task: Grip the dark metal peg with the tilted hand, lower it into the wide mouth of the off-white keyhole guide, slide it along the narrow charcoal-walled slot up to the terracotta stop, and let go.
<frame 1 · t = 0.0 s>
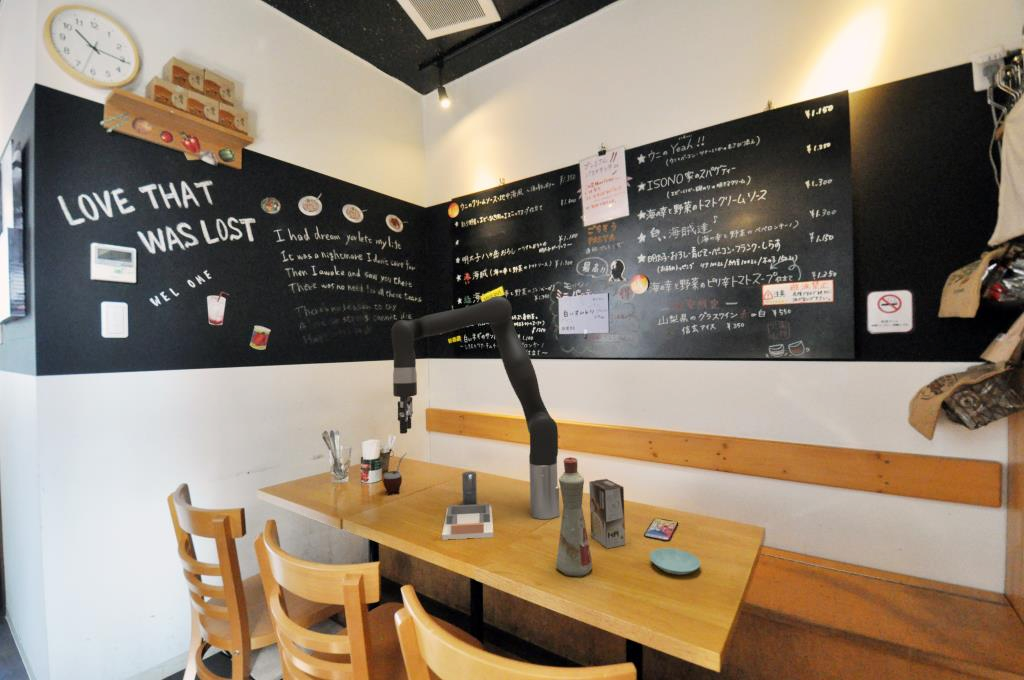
hand: (405, 431, 144), 29 cm above the table, tool pointing down, fingers open, 8 cm apart
bottle: (574, 569, 110), on the table
smartphone: (661, 532, 132), on the table
keyhole guide: (468, 524, 140), on the table
saucer: (674, 568, 110), on the table
coffee box: (607, 541, 126), on the table
metal peg: (469, 504, 158), on the table
mate gourd: (393, 493, 173), on the table
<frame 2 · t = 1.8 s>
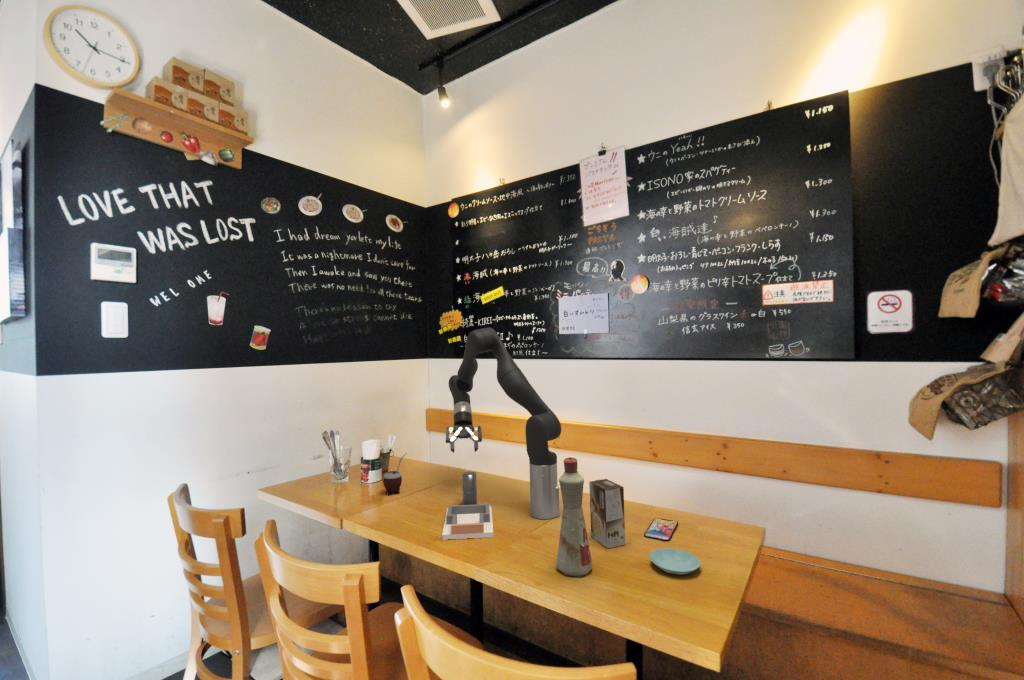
hand: (464, 451, 170), 17 cm above the table, tool tilted 40°, fingers open, 8 cm apart
nothing on the table moved.
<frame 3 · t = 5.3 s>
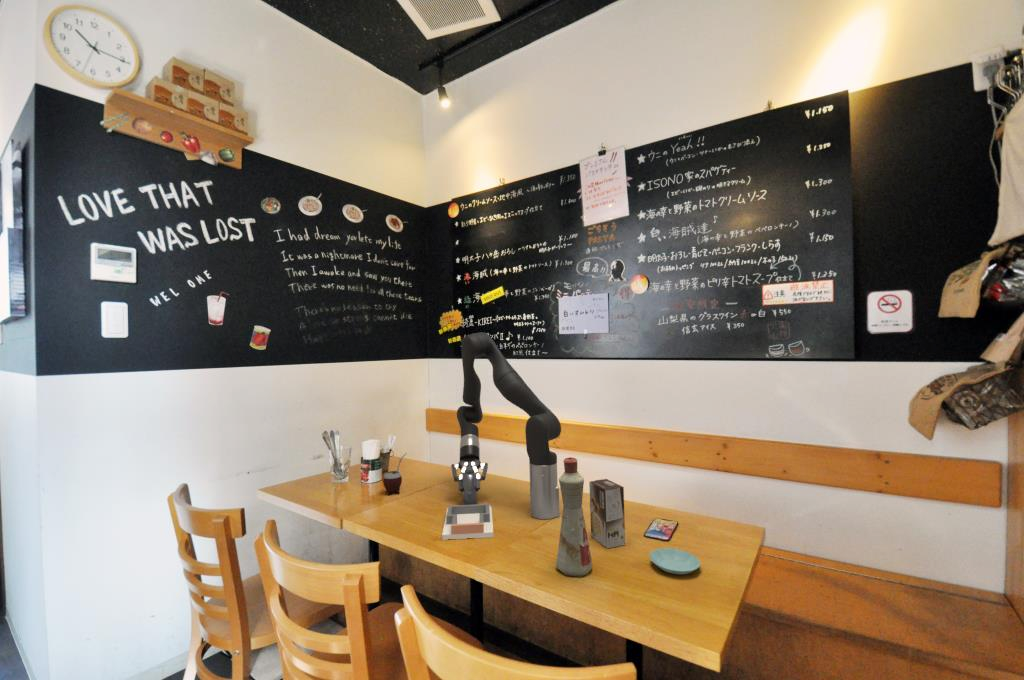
hand: (469, 490, 157), 5 cm above the table, tool tilted 45°, fingers closed on metal peg, 5 cm apart
metal peg: (469, 504, 158), on the table, touching gripper
everything else where it was.
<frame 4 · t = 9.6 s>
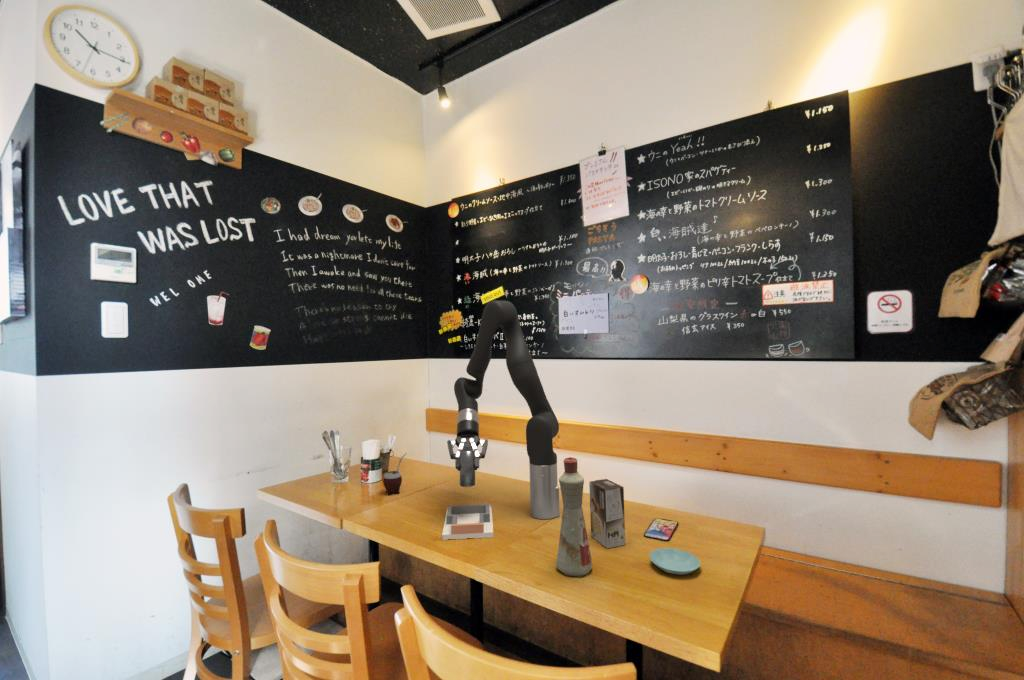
hand: (467, 469, 141), 17 cm above the table, tool tilted 45°, fingers closed on metal peg, 5 cm apart
metal peg: (467, 484, 142), point 12 cm above the table, touching gripper
everything else where it was.
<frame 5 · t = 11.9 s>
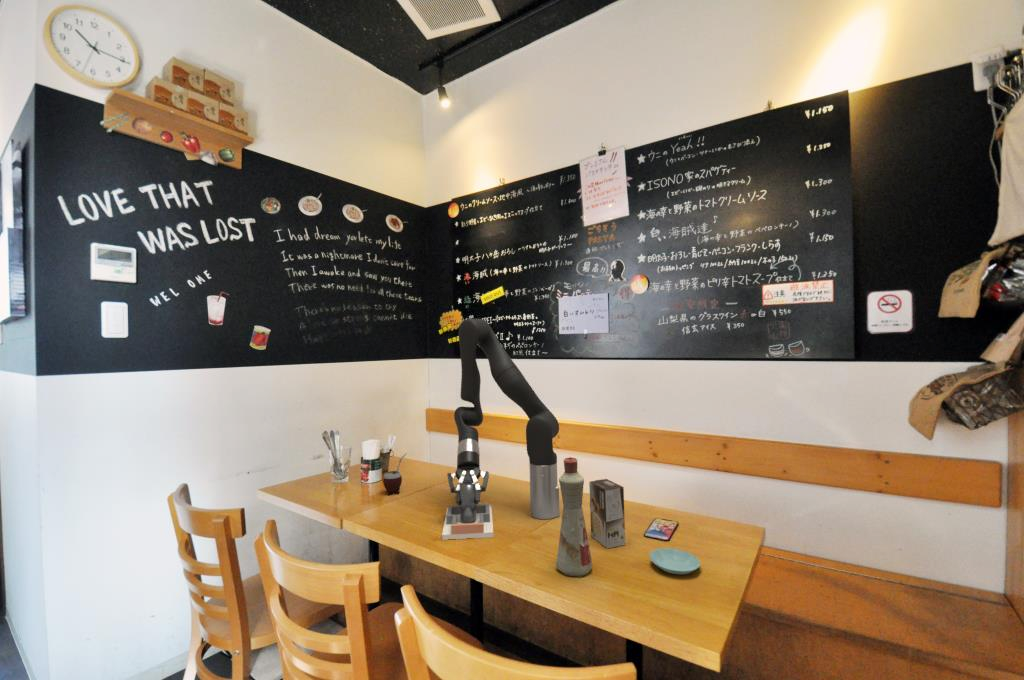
hand: (468, 503, 138), 7 cm above the table, tool tilted 45°, fingers closed on metal peg, 5 cm apart
metal peg: (468, 519, 139), point 2 cm above the table, touching gripper
everything else where it was.
when the fingers open (7 cm above the table, at t = 14.1 s): metal peg stays where it is, resting on keyhole guide.
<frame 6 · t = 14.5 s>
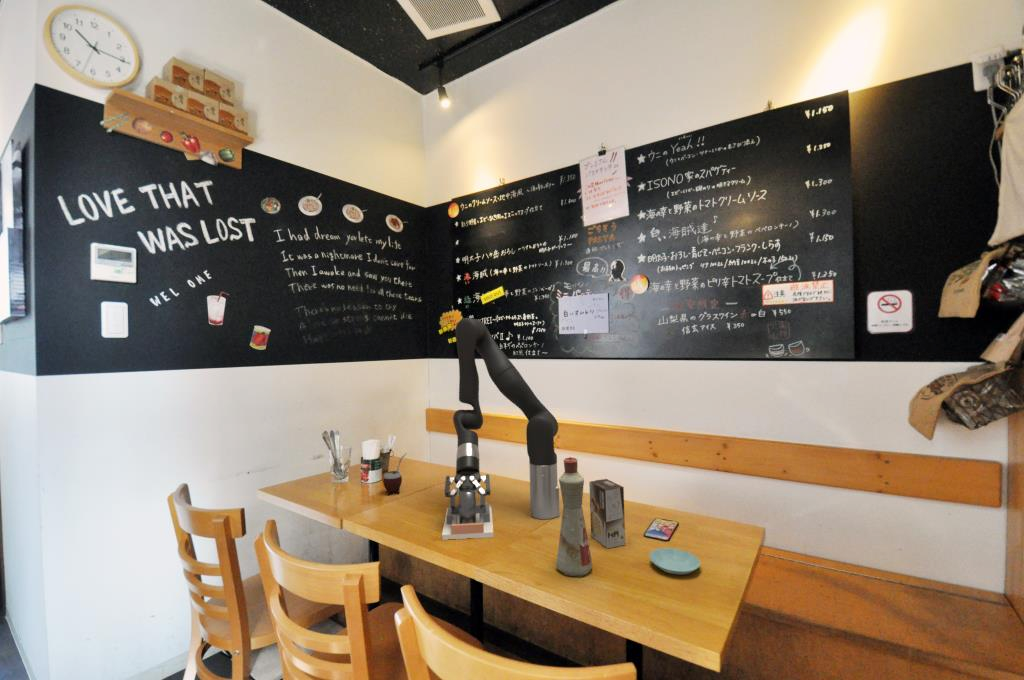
hand: (467, 508, 133), 7 cm above the table, tool tilted 45°, fingers open, 8 cm apart
metal peg: (467, 527, 134), point 1 cm above the table, touching keyhole guide
everything else where it was.
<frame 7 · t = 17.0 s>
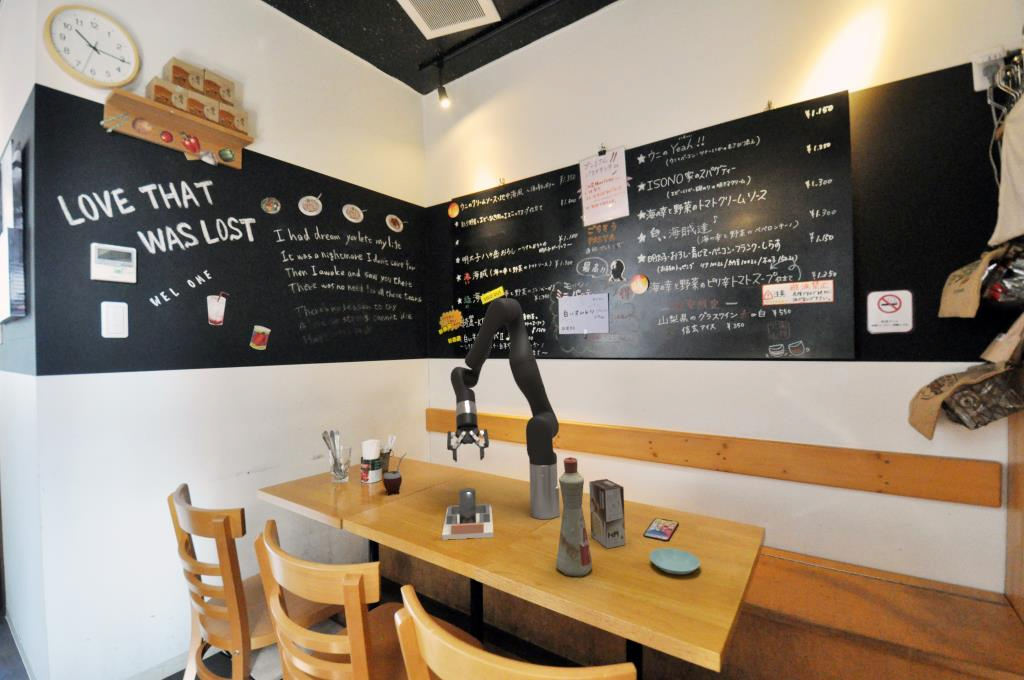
hand: (468, 460, 148), 18 cm above the table, tool tilted 35°, fingers open, 8 cm apart
nothing on the table moved.
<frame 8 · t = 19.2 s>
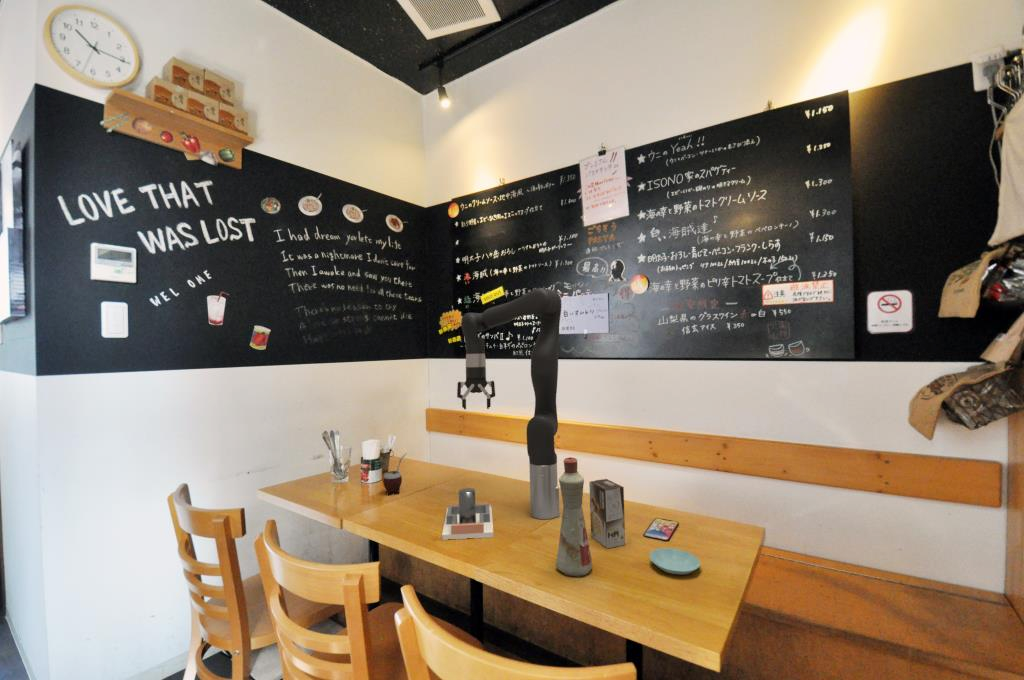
hand: (476, 408, 166), 33 cm above the table, tool pointing down, fingers open, 8 cm apart
nothing on the table moved.
at the end: metal peg 0.2 cm from the target spot on the keyhole guide, point 1.5 cm above the keyhole guide's base; metal peg tilted 1°; the gripper is holding nothing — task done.
